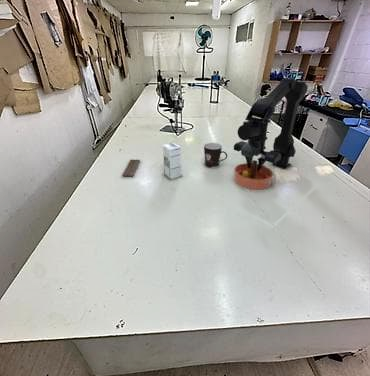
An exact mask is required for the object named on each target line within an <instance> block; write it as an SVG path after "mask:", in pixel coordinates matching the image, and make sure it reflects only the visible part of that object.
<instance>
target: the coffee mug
mask: <svg viewBox="0 0 370 376" xmlns="http://www.w3.org/2000/svg"><path fill="white" fill-rule="evenodd" d="M222 149H223V145H222V144H220V143H218V142H207V143H204V144H203V151H204V166H205V167H207V168H210V169H211V168H214V167H218V166H219V163H221V162H224V161H225V160H226V159H227V158H228V153H227V152H226V151H224V150H222ZM222 153H224V155H225V157H224V158H223V159H221V154H222Z"/></svg>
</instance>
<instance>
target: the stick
mask: <svg viewBox="0 0 370 376" xmlns="http://www.w3.org/2000/svg"><path fill="white" fill-rule="evenodd" d="M257 164H258V160H254V159H252V167H251V174H250V178H251V179H255V174H256V167H257Z"/></svg>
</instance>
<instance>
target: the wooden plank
mask: <svg viewBox="0 0 370 376" xmlns="http://www.w3.org/2000/svg"><path fill="white" fill-rule="evenodd" d="M140 162H141V159H132V158H131V159H130V160H129V161H128V164H127V166H126V168H125V169H124V170H123V173H122V176H123V177H134V176H135V174H136V171H137V169H138V166H139V164H140Z"/></svg>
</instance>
